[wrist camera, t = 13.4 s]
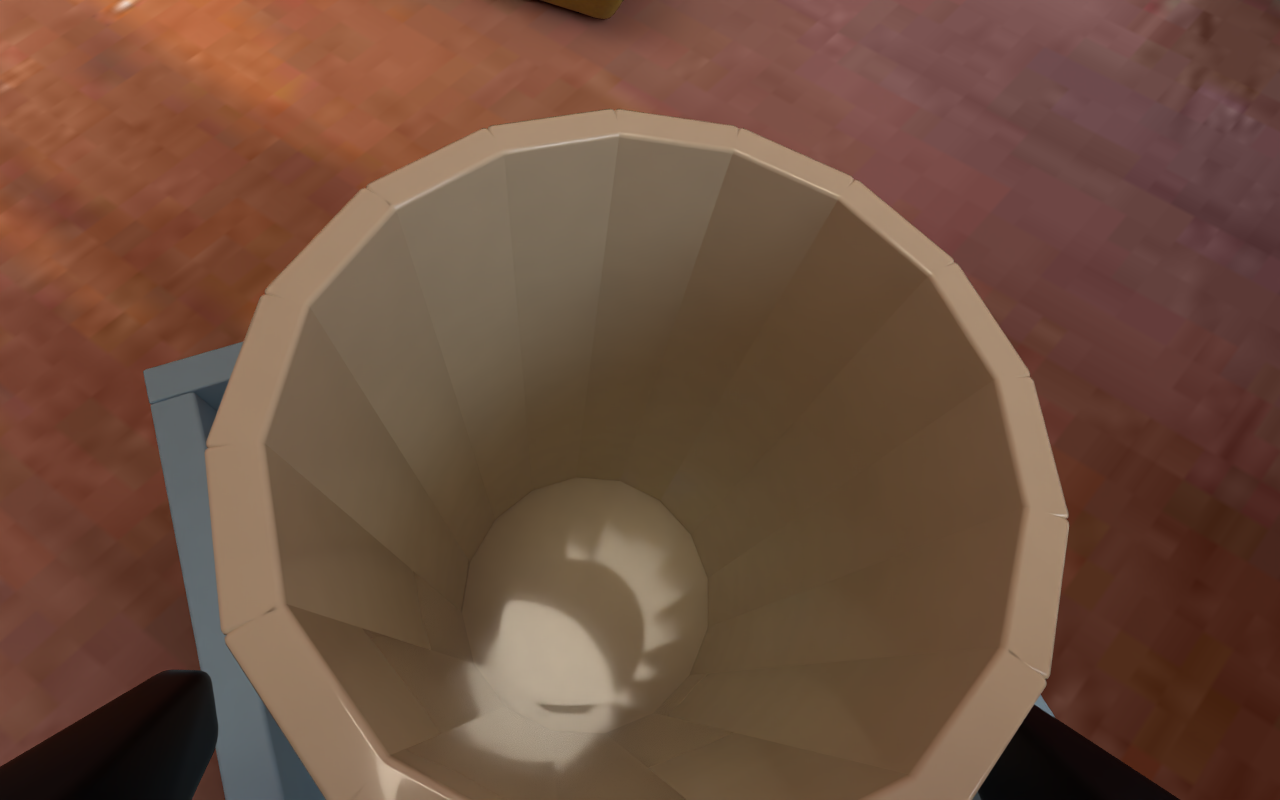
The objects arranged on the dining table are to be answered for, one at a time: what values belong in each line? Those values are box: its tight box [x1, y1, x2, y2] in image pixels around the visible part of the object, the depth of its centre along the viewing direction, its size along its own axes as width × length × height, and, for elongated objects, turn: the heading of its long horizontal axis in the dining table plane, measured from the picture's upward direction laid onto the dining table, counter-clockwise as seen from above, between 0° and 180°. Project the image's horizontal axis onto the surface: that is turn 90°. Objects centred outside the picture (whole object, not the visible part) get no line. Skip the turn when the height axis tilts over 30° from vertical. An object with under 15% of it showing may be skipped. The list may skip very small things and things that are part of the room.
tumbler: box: [205, 109, 1069, 800], centre depth 10 cm, size 7×7×12 cm
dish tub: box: [143, 342, 1055, 800], centre depth 14 cm, size 15×14×5 cm
